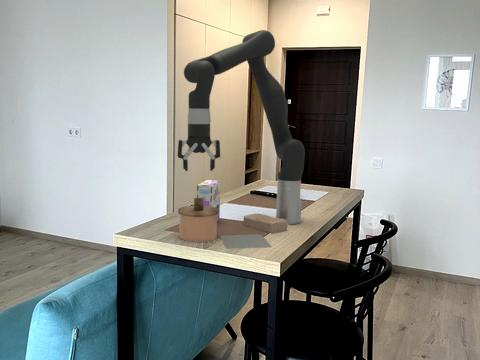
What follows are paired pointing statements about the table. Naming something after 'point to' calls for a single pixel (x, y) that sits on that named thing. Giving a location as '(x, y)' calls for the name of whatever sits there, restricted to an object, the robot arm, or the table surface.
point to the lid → (198, 209)
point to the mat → (244, 241)
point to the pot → (198, 228)
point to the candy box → (210, 194)
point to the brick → (265, 223)
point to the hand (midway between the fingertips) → (198, 170)
